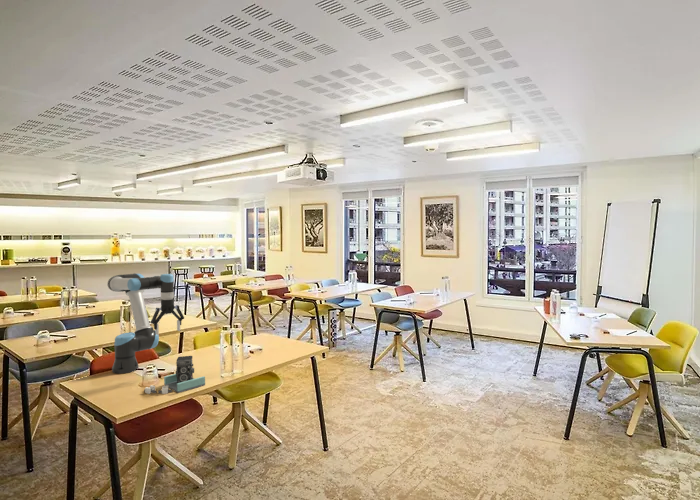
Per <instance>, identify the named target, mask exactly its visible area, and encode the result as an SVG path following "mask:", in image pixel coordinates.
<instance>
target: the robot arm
mask: <svg viewBox="0 0 700 500" xmlns="http://www.w3.org/2000/svg"><path fill="white" fill-rule="evenodd" d="M174 281H175V279H174V274H172V273H163V274H160V275H154V276H149V277H145V276H144V275H143V274H141V273H135V272H134V273H125V274H116V275H113V276H111V277H110V278H109V279H108V281H107V287H108V289H109V290H111V291H112V292H117V293H121V292H122V293H123V292H125V295H126V296H128V298H129V303H130V307H131V311H132V316H133V321H134V325H135V330H134V332H133V331H132V332H131V331H130V332H124V333H121V334H118V335H117V336H115V338H114V343H113V345H114V362H113V364H112V367H111V371H112V373H113V374H128V373H133V372H135V371H137V370H138V369H139V363H138V361H137V358H136V352H137V353H138V352H142V351H146V350H151V349H155V348H157V346H158V344H159V340H160V336H159V335H160V333H159V331H160V330H159V325H160V324H159V322H160V320H161V319H162V318H163V316H165V315H168V314H169V315H170V314H171V315H173V316H174V317H175V318H176V319H177V320H176V328H177V329H176V331H178V332H180V331H181V326H182V321H183V320H184V319H185V316H184V314H183V313H182V311H181V309H180V305H177V304H176V305H175V299H174V298H175V285H174V284H175V282H174ZM154 289H155V290H156V289H160V299H161V300H160V307H156V308H155V311H154V314H153V316H152V318H151V320H149V315H148V312H147V311H148V310H147V308H146V303H145V298H144V294H143V293H144V292H145V290H154ZM175 310H176V311H175ZM151 324H153V326H151ZM137 368H138V369H137ZM136 369H137V370H136ZM134 370H135V371H134ZM132 371H133V372H132Z"/></svg>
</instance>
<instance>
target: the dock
mask: <svg viewBox="0 0 700 500" xmlns="http://www.w3.org/2000/svg"><path fill="white" fill-rule="evenodd" d="M163 383H164V384H163V386H168V388H169V389H172V391H174V392H176V393H177V394H180V393H184V392H187V391H190V390H194V389H197V388H201V387H204V386H206V377H205V376H200V377H195V378H194V377H193V379H192V380H188V381H184V382H181V383H177V377H176V373H173V374H169V375H166V376H164V377H163Z"/></svg>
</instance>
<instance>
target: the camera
mask: <svg viewBox="0 0 700 500" xmlns="http://www.w3.org/2000/svg"><path fill="white" fill-rule="evenodd" d="M175 364H176V370H175V374H176V377H177V383H181V382H184V381H188V380H192V379H193V378H194V374H195V367H194V363H193V355H186V356H185V355H184V356H183V355H182V356H178V357H177V359H176V362H175Z"/></svg>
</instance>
